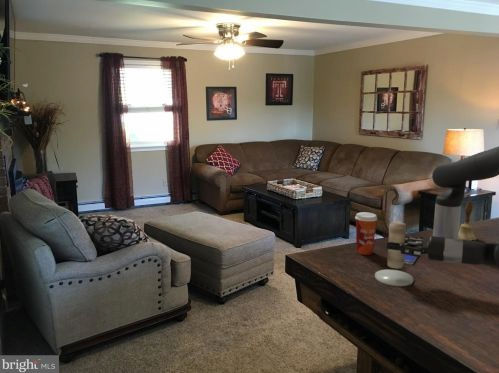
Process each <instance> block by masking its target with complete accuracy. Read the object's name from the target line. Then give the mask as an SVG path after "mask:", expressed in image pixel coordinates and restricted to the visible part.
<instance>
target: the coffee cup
mask: <svg viewBox="0 0 499 373" xmlns="http://www.w3.org/2000/svg"><path fill="white" fill-rule="evenodd" d="M377 216H378V215H377V214H375V213H372V212H368V211H367V212H366V211H365V212H364V211H363V212H361V211H360V212H358V213H357V212H356V215H355V217H354V218H355V231H356V232H355V235H356V236H355V240H356V241H355V242H356V244H355V245H356V253H357V254H359V255H363V256H365V255H366V256H368V255H372V254H373V251H374V243H375V237H376V236H375V235H376V226H377V221H378V217H377Z"/></svg>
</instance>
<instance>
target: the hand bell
mask: <svg viewBox="0 0 499 373" xmlns="http://www.w3.org/2000/svg"><path fill="white" fill-rule="evenodd" d="M464 212H465V218H464V219H465V220H464V223H462V224H461V225H459V235H458V239H459V240H466V241H472V240H473V241H476V240H477V237H476V236H475V235H474V230H473V225H471V224H470V220H471V214H472V212H473V203H472V201H471V200H468V201H467V203H466V205H465V209H464Z"/></svg>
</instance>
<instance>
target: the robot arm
mask: <svg viewBox="0 0 499 373" xmlns="http://www.w3.org/2000/svg"><path fill="white" fill-rule="evenodd" d="M431 175H432V176H431V178H432V181H433V183H434V185H435V186H437V187H439V188H443V189H445V188H447V189H446V191H444V192H442V193H441V194H439V195H437V196H436V197H435V207H434V218H433V230H432V235H430V236H429V240H424V237H423V236H414V235H413V236H412V235H411V236H409V235H405V243H400V244H399V243H394V242H389V241H387V242H386V250H388V249H391V250H399V251H400V252H401V254H405V255H410V256H415V257H417V258H421V255H428V256H427V259H428V260H429V261H436V262H445V263H451V264H464V265H465V264H466V265H473V266H481V265H486V266H492V267H498V268H499V243H494V242H491V243H490V242H479V241H476V240H473V241H467V240H461V239H458V235H459V230H460V226H461V225H460V224H461V223H460V222H461V215H462V214H461V212H462V205H463V204H462V203H463V200H464V198H465V193H466V192H465V191H466V186H467V182H473V181H474V182H476V181H482V180H487V179H493V178H495V177H498V176H499V146H495V147H493V148H490V149H488V150H484V151H480V152H478V153H475V154H473V155H470V156H466V157H463V158H462V159H458V160H457V161H454V162H450V163H449V162H448V163H440V164H438V165H437V166H436V167H435V168H434V170H433V171H432V174H431Z"/></svg>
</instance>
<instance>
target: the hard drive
mask: <svg viewBox="0 0 499 373" xmlns="http://www.w3.org/2000/svg"><path fill="white" fill-rule="evenodd" d="M417 258H418V257H415V256H410V255H405V254H404V264H406V265H414V263H415V261H416V260H417Z"/></svg>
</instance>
